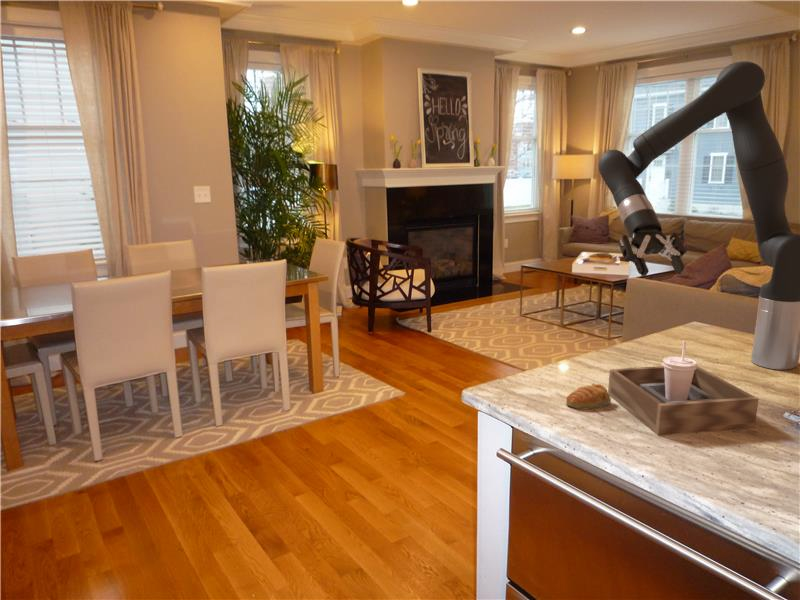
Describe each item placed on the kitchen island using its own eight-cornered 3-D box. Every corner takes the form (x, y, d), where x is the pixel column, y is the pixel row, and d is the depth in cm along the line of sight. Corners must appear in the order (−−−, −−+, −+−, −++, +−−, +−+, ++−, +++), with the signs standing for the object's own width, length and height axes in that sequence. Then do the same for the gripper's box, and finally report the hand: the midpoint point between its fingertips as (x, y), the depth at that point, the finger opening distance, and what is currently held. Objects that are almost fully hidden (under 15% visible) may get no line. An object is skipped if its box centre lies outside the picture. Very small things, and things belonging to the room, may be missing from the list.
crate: (691, 389, 132) (693, 364, 130) (754, 427, 112) (758, 398, 111) (607, 394, 129) (609, 369, 128) (658, 435, 110) (660, 405, 109)
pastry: (580, 414, 120) (581, 397, 119) (557, 403, 126) (558, 387, 125) (613, 405, 124) (614, 388, 123) (589, 394, 130) (590, 378, 129)
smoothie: (696, 412, 117) (703, 346, 114) (662, 410, 118) (668, 345, 115) (687, 399, 123) (694, 336, 120) (655, 398, 124) (661, 335, 121)
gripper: (617, 208, 135) (641, 265, 127) (673, 206, 137) (700, 261, 129) (605, 229, 142) (626, 284, 133) (659, 226, 144) (683, 280, 135)
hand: (663, 273), depth 131 cm, fingers open, 8 cm apart
